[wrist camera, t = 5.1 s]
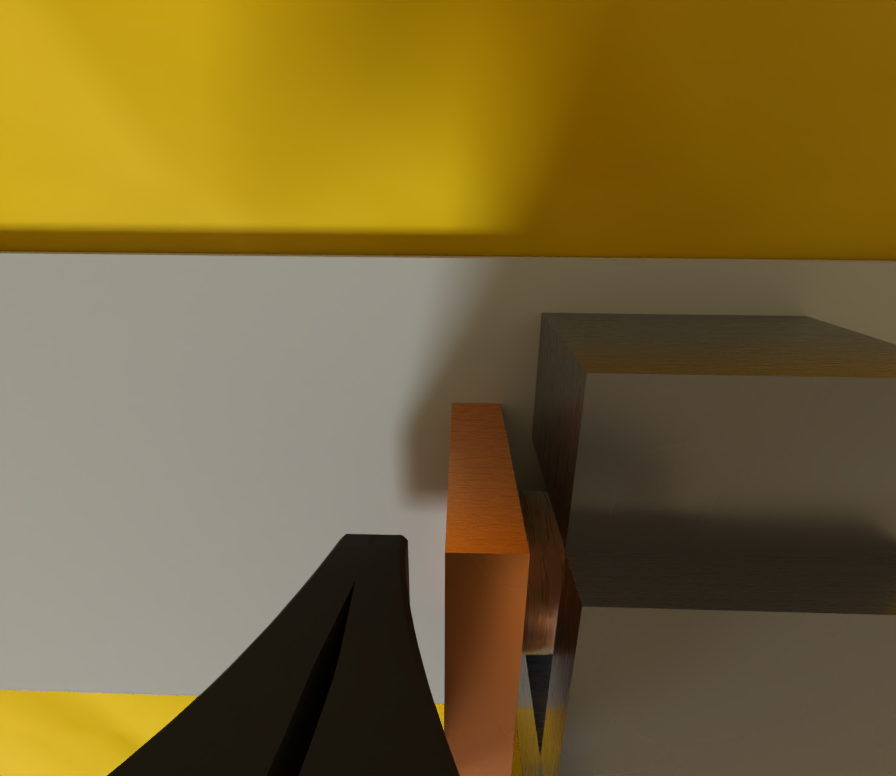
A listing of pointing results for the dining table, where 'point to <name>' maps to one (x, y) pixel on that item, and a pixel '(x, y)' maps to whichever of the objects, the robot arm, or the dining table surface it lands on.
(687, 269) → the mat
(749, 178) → the dining table surface
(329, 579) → the robot arm
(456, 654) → the pin
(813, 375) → the hitch block
